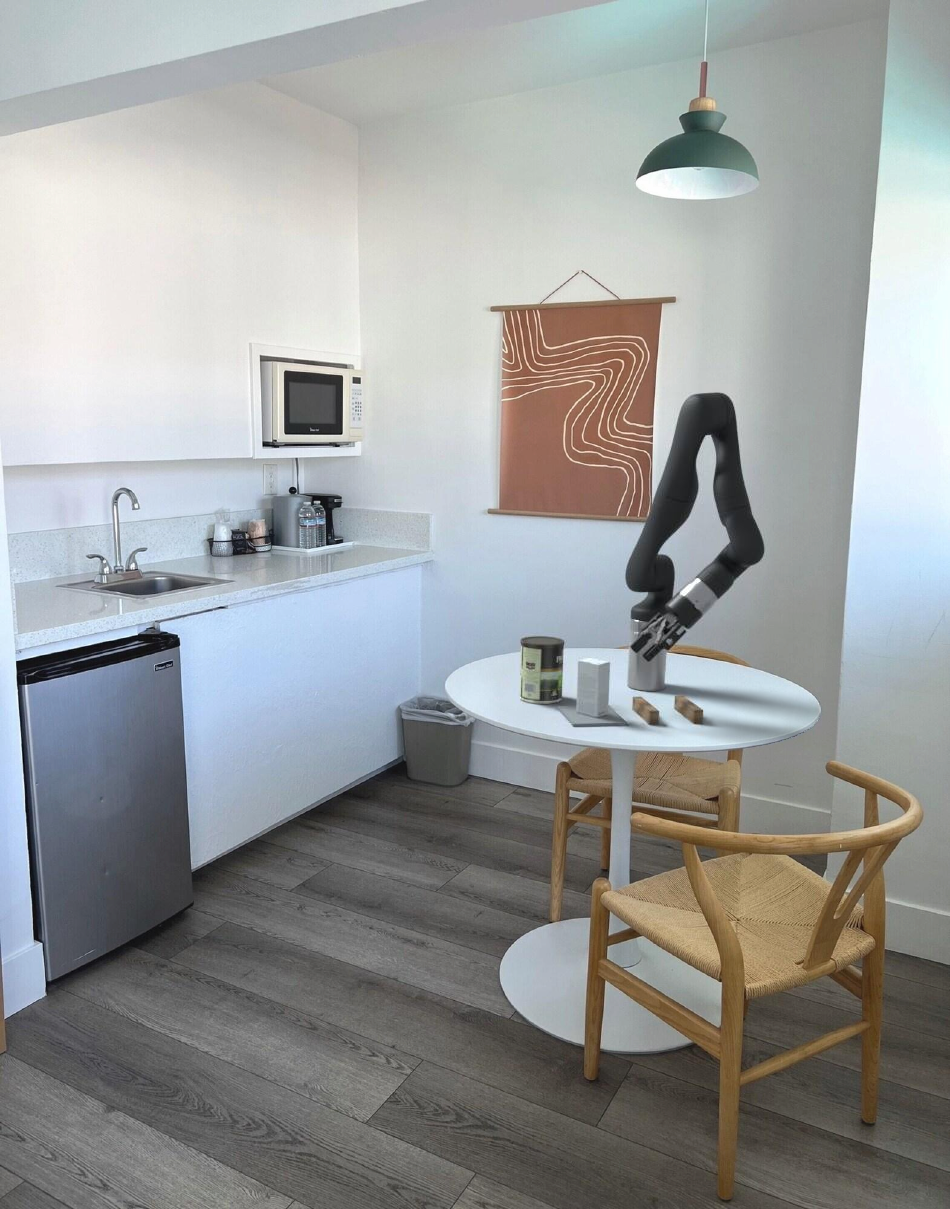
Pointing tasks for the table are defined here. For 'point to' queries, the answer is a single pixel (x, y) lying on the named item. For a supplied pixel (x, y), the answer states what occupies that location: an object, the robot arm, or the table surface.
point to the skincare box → (593, 687)
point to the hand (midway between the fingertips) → (638, 654)
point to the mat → (591, 717)
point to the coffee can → (541, 669)
